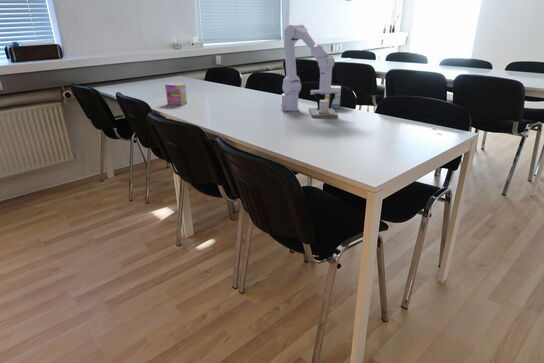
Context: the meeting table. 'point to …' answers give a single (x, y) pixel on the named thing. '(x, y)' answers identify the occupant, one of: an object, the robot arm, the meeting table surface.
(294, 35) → the robot arm
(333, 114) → the socket board
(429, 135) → the meeting table surface
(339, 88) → the ink box
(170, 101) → the box
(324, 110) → the steel peg
